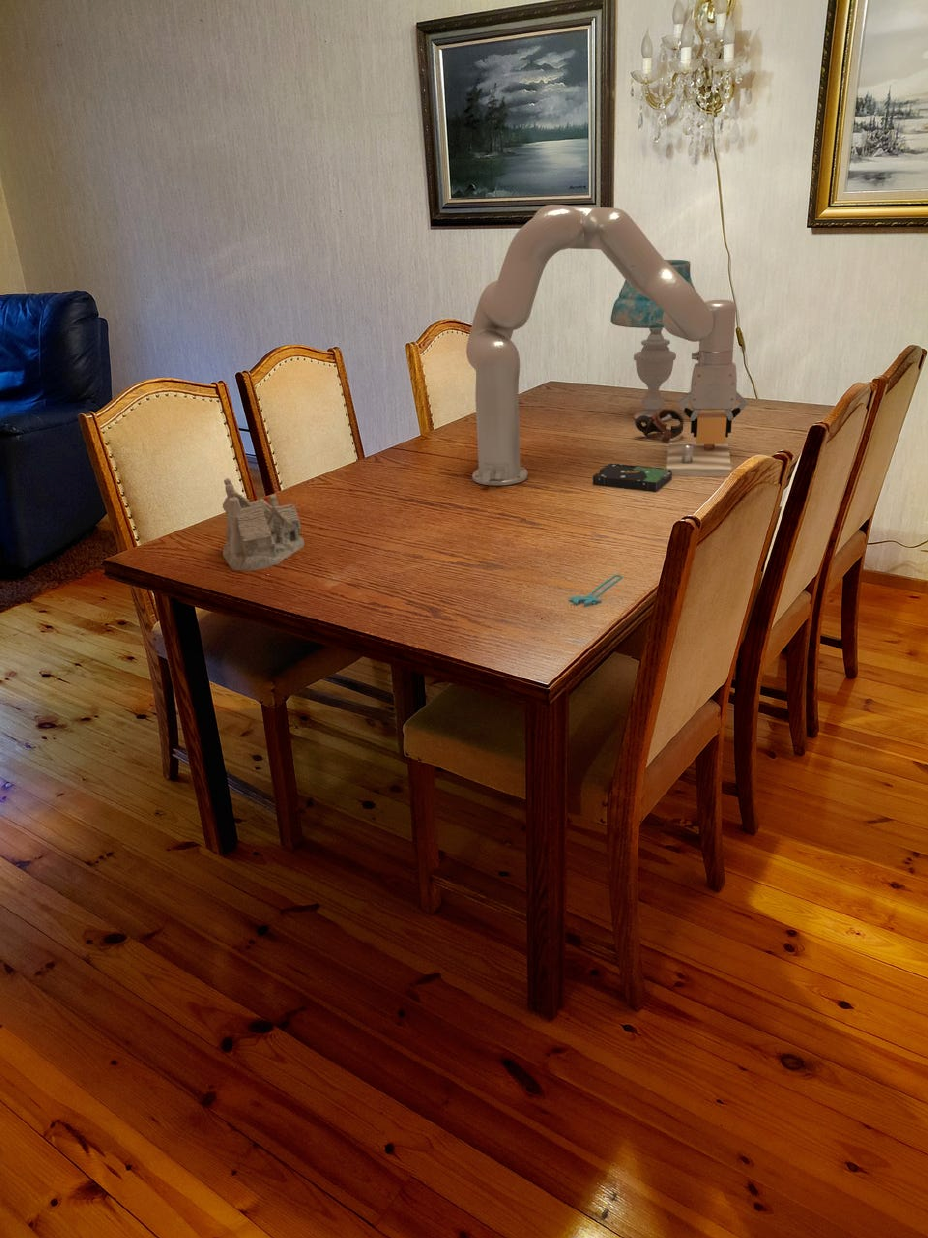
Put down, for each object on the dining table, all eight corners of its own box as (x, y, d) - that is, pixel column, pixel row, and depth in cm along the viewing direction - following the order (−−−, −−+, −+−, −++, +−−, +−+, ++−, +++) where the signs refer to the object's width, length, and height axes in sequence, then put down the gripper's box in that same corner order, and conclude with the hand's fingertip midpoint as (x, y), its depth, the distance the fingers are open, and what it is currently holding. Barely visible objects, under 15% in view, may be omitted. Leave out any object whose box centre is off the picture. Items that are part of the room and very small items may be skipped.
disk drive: (592, 488, 202) (657, 494, 195) (591, 475, 201) (657, 481, 194) (608, 474, 210) (672, 480, 203) (609, 462, 209) (672, 467, 202)
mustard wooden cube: (724, 443, 212) (726, 418, 210) (696, 443, 214) (697, 418, 211) (723, 436, 218) (725, 411, 215) (696, 436, 219) (697, 411, 217)
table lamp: (604, 410, 263) (606, 261, 245) (688, 406, 261) (696, 256, 244) (613, 431, 241) (616, 269, 224) (705, 427, 240) (715, 264, 223)
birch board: (730, 476, 202) (731, 469, 201) (665, 475, 205) (666, 468, 204) (727, 449, 221) (728, 443, 220) (668, 448, 224) (668, 442, 223)
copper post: (714, 450, 215) (715, 433, 214) (704, 450, 216) (705, 433, 214) (714, 447, 217) (715, 431, 216) (703, 447, 218) (704, 431, 216)
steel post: (692, 463, 207) (693, 446, 205) (681, 463, 207) (682, 446, 206) (692, 460, 209) (693, 443, 207) (681, 460, 209) (682, 443, 208)
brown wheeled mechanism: (672, 433, 239) (685, 408, 233) (676, 457, 233) (689, 433, 227) (628, 424, 237) (640, 399, 231) (631, 449, 231) (643, 424, 225)
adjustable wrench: (592, 605, 145) (564, 599, 147) (592, 611, 145) (565, 604, 148) (632, 575, 155) (605, 569, 157) (632, 580, 155) (605, 574, 158)
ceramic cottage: (226, 573, 166) (218, 492, 160) (221, 547, 180) (212, 471, 174) (313, 565, 170) (307, 486, 164) (300, 539, 184) (295, 466, 179)
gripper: (675, 361, 206) (672, 440, 214) (756, 360, 202) (749, 440, 210) (676, 355, 213) (673, 431, 220) (754, 354, 209) (748, 431, 217)
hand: (710, 435), depth 215 cm, fingers closed on mustard wooden cube, 6 cm apart
